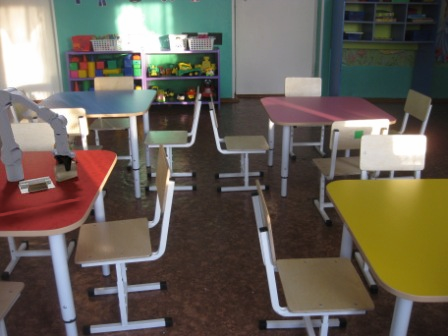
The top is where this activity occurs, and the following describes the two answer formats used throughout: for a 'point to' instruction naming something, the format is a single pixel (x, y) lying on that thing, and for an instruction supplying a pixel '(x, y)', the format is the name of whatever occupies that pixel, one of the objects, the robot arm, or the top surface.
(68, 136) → the stacking bear
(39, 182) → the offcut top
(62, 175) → the birch sheet
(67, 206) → the top surface
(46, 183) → the offcut bottom
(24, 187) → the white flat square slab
